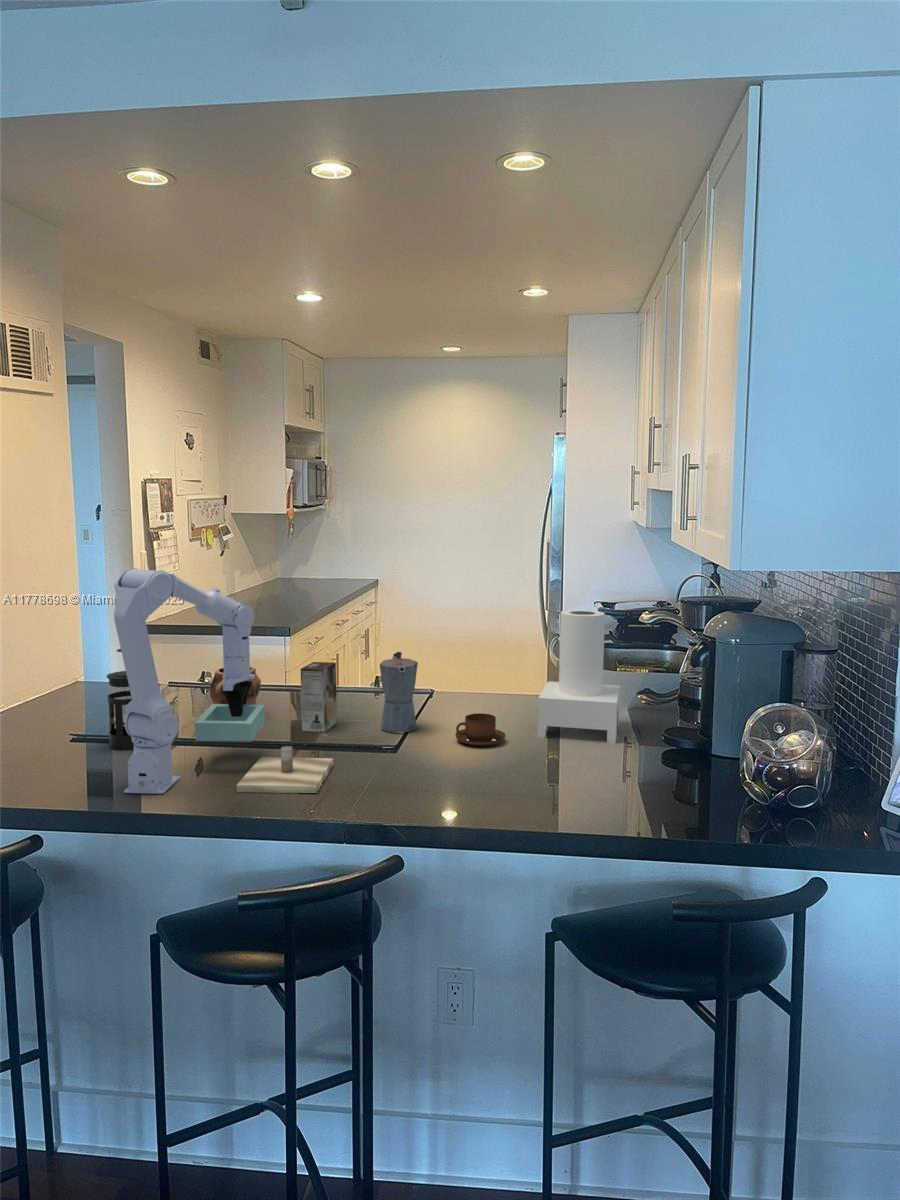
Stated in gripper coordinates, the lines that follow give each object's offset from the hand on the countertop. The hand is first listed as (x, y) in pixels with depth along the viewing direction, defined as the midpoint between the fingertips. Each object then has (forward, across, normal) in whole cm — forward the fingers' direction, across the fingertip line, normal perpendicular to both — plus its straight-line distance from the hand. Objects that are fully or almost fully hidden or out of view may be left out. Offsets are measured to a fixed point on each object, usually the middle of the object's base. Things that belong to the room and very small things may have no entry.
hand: (237, 715), depth 193 cm
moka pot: (+10, +24, -34) cm, 43 cm away
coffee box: (+10, +25, -14) cm, 30 cm away
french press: (+10, +7, +28) cm, 30 cm away
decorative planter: (+10, +29, +9) cm, 32 cm away
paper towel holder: (+10, +26, -80) cm, 84 cm away
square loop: (+2, -5, 0) cm, 5 cm away
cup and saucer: (+10, +14, -55) cm, 57 cm away
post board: (+9, -14, -14) cm, 22 cm away
